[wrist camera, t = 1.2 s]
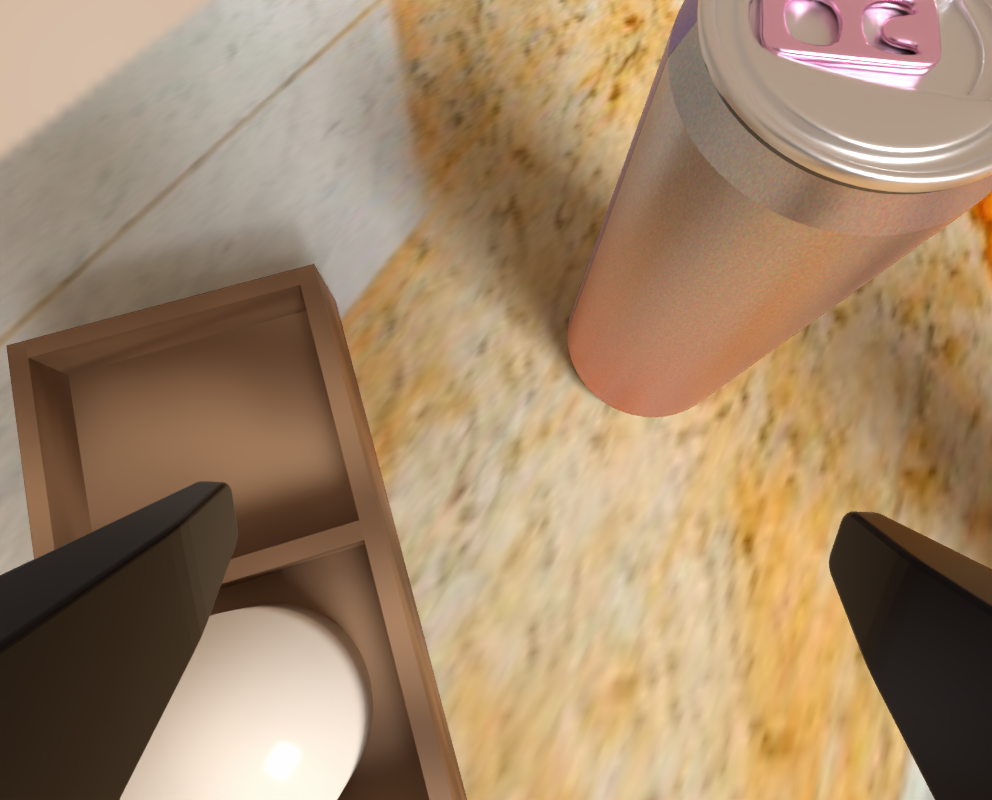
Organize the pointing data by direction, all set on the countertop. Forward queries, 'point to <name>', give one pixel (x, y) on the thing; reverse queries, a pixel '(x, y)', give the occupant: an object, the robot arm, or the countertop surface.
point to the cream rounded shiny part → (261, 712)
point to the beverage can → (777, 183)
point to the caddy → (245, 479)
